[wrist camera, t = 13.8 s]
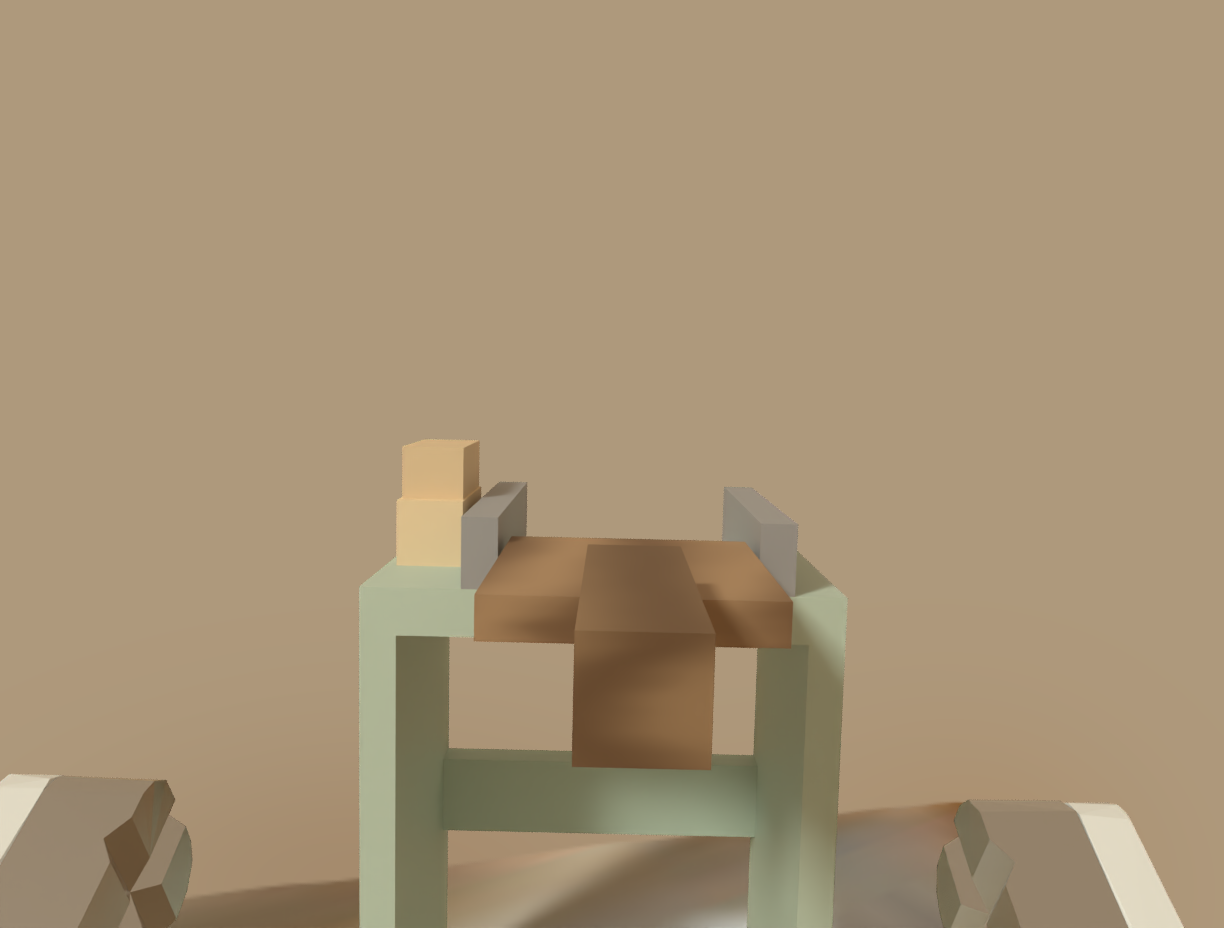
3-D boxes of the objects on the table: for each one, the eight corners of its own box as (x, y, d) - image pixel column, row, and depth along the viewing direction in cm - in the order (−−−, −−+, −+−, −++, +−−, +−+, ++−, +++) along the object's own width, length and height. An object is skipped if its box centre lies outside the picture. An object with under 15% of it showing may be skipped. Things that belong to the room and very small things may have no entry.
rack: (359, 1175, 41) (359, 455, 38) (420, 985, 54) (423, 435, 51) (819, 1186, 41) (853, 466, 38) (770, 993, 54) (793, 444, 51)
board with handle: (409, 763, 20) (409, 626, 20) (511, 570, 41) (512, 501, 41) (874, 773, 20) (880, 637, 20) (743, 576, 41) (746, 507, 41)
